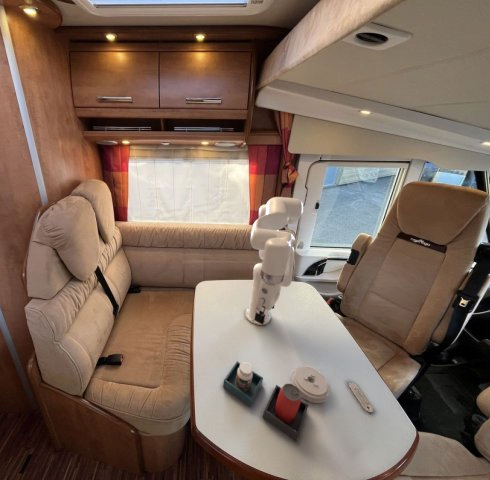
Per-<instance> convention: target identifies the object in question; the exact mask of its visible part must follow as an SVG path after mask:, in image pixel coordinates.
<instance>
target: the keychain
mask: <svg viewBox="0 0 490 480" xmlns="http://www.w3.org/2000/svg"><path fill="white" fill-rule="evenodd" d="M348 387H349V389H351V392H352V393H353V394H354V396H355V397H356V399H357V400H358V402H359V403H360V405H361V407H362V408H363V409H364V411H366V412H367V413H373V412H374V407H373V406H372V405H371V404H370V402H369V401H368V399H367V398H366V396H365V395H364V394H363V392H362V391H361V390H360V388H359V386H358V385H357V384H356V383H354V382H349V383H348Z"/></svg>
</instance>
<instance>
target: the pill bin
mask: <svg viewBox="0 0 490 480" xmlns="http://www.w3.org/2000/svg"><path fill="white" fill-rule="evenodd" d="M241 363H242V362H239V361H236V362H235V363H234V365H233V366H232V368H231V369H230V370H229V372H228V373H227V375H226V377H225V378H224V379H223V385H222V387H223V388H224V389H225V390H226V391H228V392H230V394H232V395H233V396H235V397H236V398H237V399H239V400H240V401H242V402H243V403H245V404H246V405H247V406H248V407H251V406H252V404H253V403H254V401H255V399H256V396H257V395H258V393H259V391H260V389H261V387H262V385H263V381H264V377H263V376H262V375H259V374H258V373H256V372H255V371H254V370H252V373H253V377H252V381H251V386H250V389H249V390H248V391H245V392H243V391H241V390H240V389H238V388H237V387H236V383H235V382H236V376H237V370H238V368H239V366H240V364H241Z"/></svg>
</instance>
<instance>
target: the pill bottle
mask: <svg viewBox="0 0 490 480" xmlns="http://www.w3.org/2000/svg"><path fill="white" fill-rule="evenodd" d="M240 363H241V364H240V366H239V368H238V370H237V376H236V382H235V383H236V387H237V388H238V389H240V390H241V391H243V392H245V391H248V390H249V389H250V386H251V381H252V377H253V373H252V371H253V366H252V365H251V364H250V363H249V362H247V361H242V362H240Z"/></svg>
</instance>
